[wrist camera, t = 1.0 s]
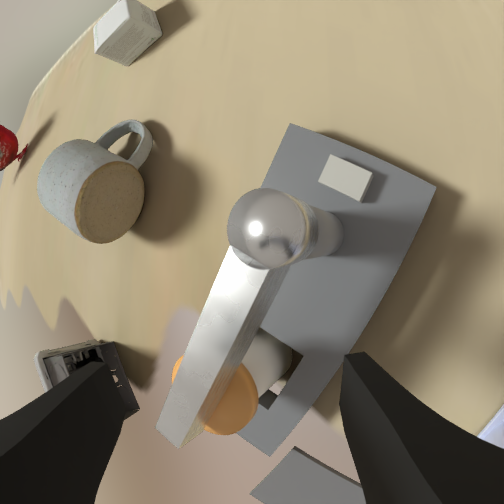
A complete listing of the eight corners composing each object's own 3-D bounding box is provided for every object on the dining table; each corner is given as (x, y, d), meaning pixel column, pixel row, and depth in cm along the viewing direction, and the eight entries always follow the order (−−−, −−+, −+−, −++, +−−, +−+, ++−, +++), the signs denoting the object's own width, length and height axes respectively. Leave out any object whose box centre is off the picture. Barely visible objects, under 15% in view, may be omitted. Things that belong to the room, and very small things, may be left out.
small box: (122, 41, 28) (91, 27, 24) (156, 10, 25) (126, -8, 21) (127, 69, 27) (92, 54, 23) (164, 35, 25) (130, 14, 20)
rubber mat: (378, 492, 16) (377, 495, 16) (321, 531, 18) (320, 534, 18) (294, 445, 20) (292, 448, 19) (251, 491, 21) (249, 493, 21)
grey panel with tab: (433, 192, 15) (451, 162, 9) (281, 442, 20) (232, 500, 14) (301, 133, 19) (247, 86, 12) (191, 375, 24) (126, 409, 17)
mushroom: (313, 345, 19) (267, 392, 13) (280, 397, 20) (228, 449, 14) (253, 306, 21) (187, 332, 15) (227, 359, 22) (162, 395, 16)
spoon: (330, 214, 11) (315, 208, 9) (210, 437, 14) (186, 455, 12) (271, 185, 12) (246, 175, 10) (173, 406, 15) (147, 421, 13)
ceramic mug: (136, 249, 26) (61, 250, 19) (91, 217, 29) (28, 213, 22) (176, 132, 24) (104, 103, 17) (123, 119, 27) (61, 98, 20)
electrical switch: (94, 338, 30) (25, 355, 22) (121, 329, 28) (45, 348, 20) (124, 416, 29) (62, 447, 20) (155, 414, 27) (88, 453, 18)
